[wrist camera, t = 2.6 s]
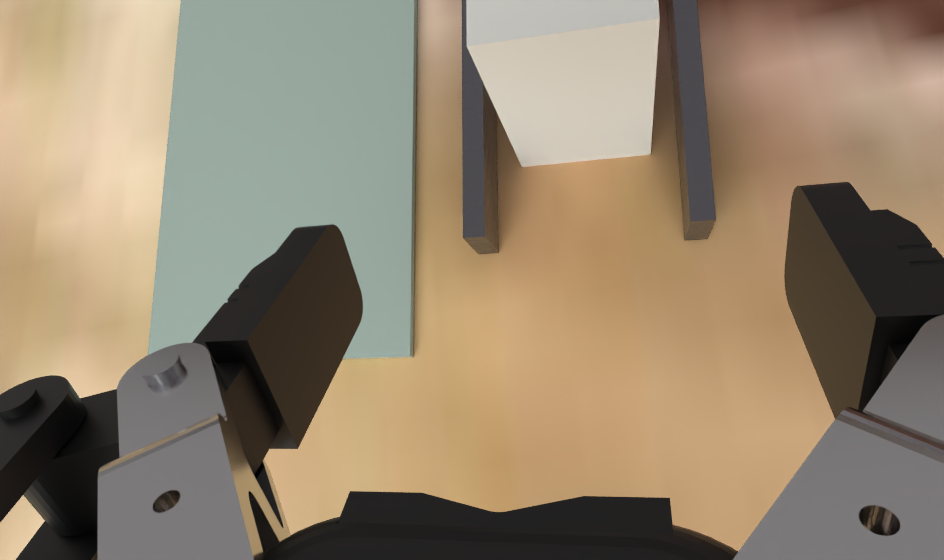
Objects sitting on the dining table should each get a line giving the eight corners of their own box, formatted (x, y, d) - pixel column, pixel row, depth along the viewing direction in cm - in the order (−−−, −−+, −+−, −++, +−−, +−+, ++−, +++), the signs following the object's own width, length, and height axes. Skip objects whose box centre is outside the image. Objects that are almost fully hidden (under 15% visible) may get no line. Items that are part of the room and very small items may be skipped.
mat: (418, -83, 29) (415, -89, 29) (413, 356, 25) (410, 356, 25) (190, -38, 32) (184, -43, 32) (153, 364, 28) (146, 363, 28)
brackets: (683, -49, 26) (688, -95, 24) (707, 239, 24) (715, 219, 21) (476, -14, 28) (461, -54, 26) (479, 254, 26) (463, 237, 23)
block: (642, 37, 26) (647, -150, 17) (650, 154, 25) (659, 18, 16) (519, 54, 27) (465, -113, 18) (521, 166, 26) (466, 46, 17)
